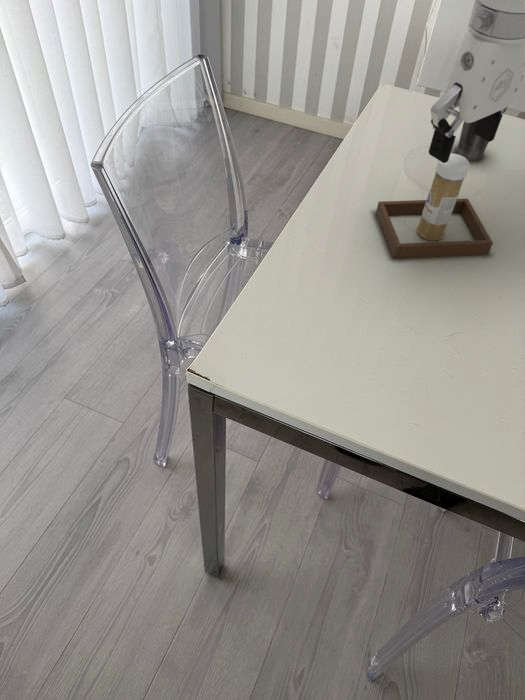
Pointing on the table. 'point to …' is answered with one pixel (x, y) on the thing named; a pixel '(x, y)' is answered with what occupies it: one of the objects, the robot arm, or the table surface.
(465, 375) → the table surface
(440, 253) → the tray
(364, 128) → the table surface
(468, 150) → the beverage cup
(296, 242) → the table surface
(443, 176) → the sprinkles bottle
